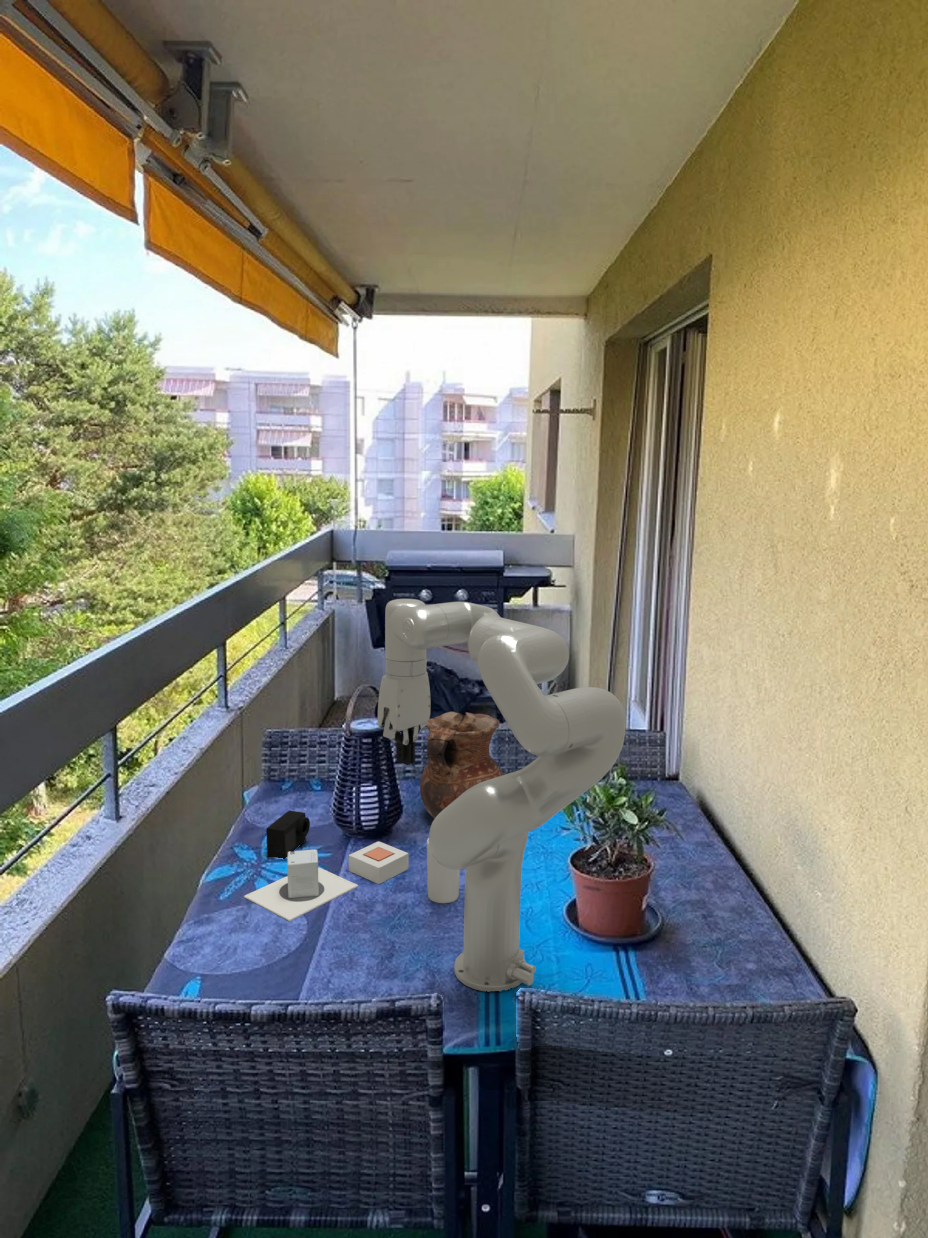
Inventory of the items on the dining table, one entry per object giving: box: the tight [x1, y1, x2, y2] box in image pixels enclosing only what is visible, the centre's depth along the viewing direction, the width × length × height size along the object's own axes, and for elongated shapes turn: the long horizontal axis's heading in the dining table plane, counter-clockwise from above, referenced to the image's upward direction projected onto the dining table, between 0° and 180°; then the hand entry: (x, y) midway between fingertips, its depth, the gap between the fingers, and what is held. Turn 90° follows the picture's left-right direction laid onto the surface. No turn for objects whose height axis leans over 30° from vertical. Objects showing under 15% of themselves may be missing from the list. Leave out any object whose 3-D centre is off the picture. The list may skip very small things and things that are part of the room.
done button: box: [364, 847, 393, 862], centre depth 188 cm, size 4×4×2 cm
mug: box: [426, 837, 461, 904], centre depth 178 cm, size 10×7×12 cm, turn 167°
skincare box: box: [286, 849, 319, 898], centre depth 178 cm, size 6×6×7 cm
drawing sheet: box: [243, 866, 359, 922], centre depth 179 cm, size 14×18×1 cm
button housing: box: [348, 840, 410, 885], centre depth 188 cm, size 9×9×4 cm
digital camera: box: [266, 809, 311, 860], centre depth 197 cm, size 10×5×7 cm, turn 163°
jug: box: [419, 711, 504, 820], centre depth 214 cm, size 22×21×25 cm
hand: (405, 762), depth 164 cm, fingers closed
